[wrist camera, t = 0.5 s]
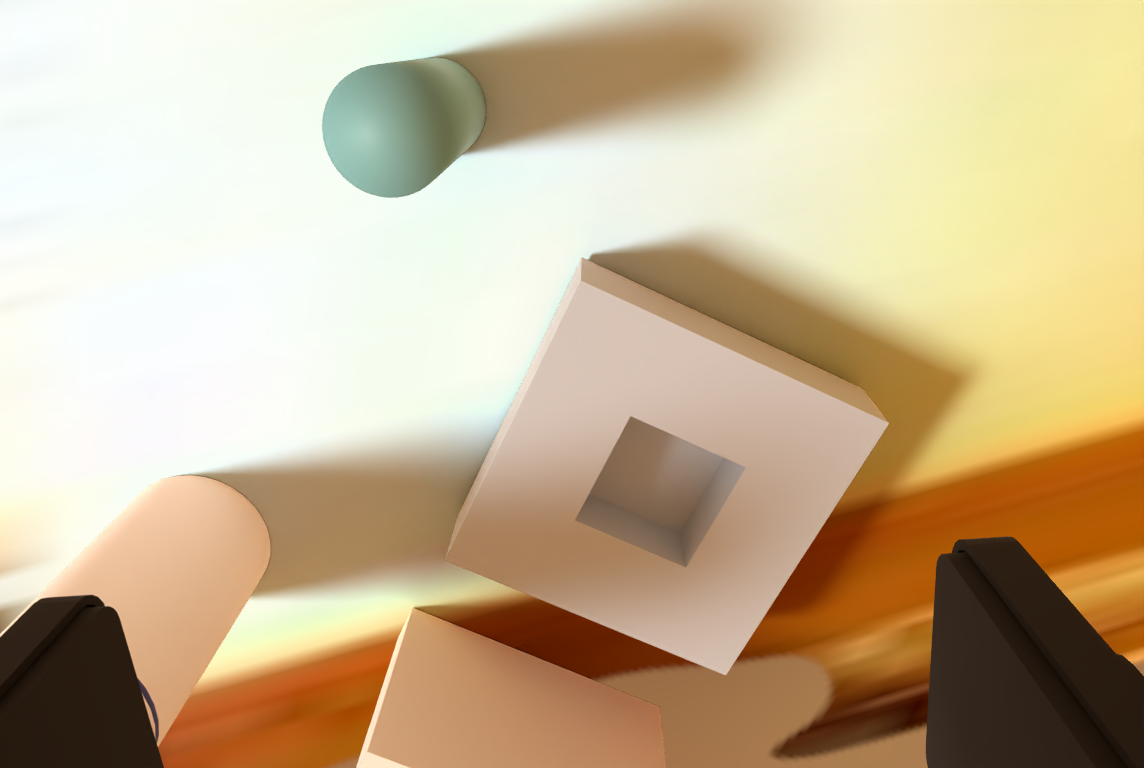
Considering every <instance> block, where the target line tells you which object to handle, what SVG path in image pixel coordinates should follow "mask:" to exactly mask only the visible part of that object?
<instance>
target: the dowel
mask: <svg viewBox="0 0 1144 768" xmlns="http://www.w3.org/2000/svg"><path fill="white" fill-rule="evenodd" d="M485 118H486V103H485V98H484V94H483V91H482V89H481V87H480V85H479V83H478V82H477V80H476V79H475V77H474V76H473V75H472V74H471V73H470V72H469V71H468V70H467V69H466V68H464V67H463V66H462V65H460V64H458V63H457V62H454V61H452V60H449V59H445V58H438V57H433V58H424V59H416V60H408V61H401V62H393V63H385V64H378V65H371V66H367V67H363V68H360V69H358V70H356V71H354V72H352V73H351V74H349V75H348V76H346V77H345V78H344V79H343V80H341V81H340V82H339V83H338V85H337V86H336V87H335V88H334V90H333V91H332V93H331V95H330V96H329V99H328V101H327V103H326V106H325V110H324V114H323V124H322V130H323V139H324V143H325V147H326V150H327V152H328V155H329V157H330V159H331V161H332V163H333V164H334V166H335V167H336V169H337V170H338V171H339V172H340V174H341V175H342V176H343V177H344V178H345V179H346V180H347V181H349V182H350V183H351V184H353V185H354V186H355V187H357V188H359V189H360V190H362V191H364V192H367V193H369V194H372V195H376V196H380V197H388V198H389V197H402V196H407V195H410V194H413V193H415V192H418V191H420V190H421V189H423V188H424V187H426V186H427V185H429V184H430V183H431V182H432V181H433V180H434V179H435V178H437V177H438V176H439V175H440V174H441V173H442V172H443V171H444V170H445V169H447V168H448V167H449V166H450V165H451V164H452V163H453V162H454V161H455V160H456V159H458V158H459V157H460V156H461V155H462V154H463V153H464V152H465V151H466V150H468V149H469V148H470V147H471V146H472V145H473V144H474V143H475V142H476V140H477V139H478V137H479V136H480V134H481V132H482V129H483V127H484V123H485Z"/></svg>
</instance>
